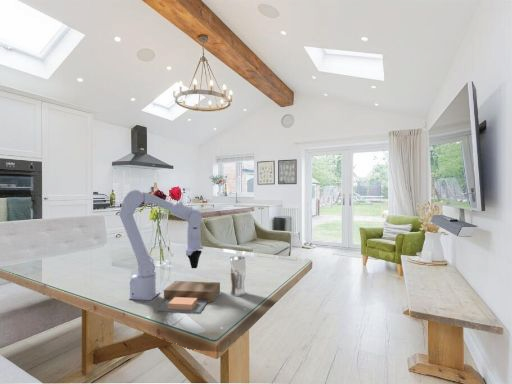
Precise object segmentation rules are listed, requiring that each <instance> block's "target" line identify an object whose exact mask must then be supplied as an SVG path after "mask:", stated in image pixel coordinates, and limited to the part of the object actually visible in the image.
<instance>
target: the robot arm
mask: <svg viewBox="0 0 512 384" xmlns="http://www.w3.org/2000/svg"><path fill="white" fill-rule="evenodd" d="M142 204H144V205H147V204H153V205H154V206H157V207H160V208H163V209H166V210H168V211H169V212H170V214H171V216H172V215H173V216H175V217H177V218H180V219H182V220H186V221H187V231H186V232H187V235H186V236H187V243H186V244H187V247H186V251H185V256H187V258H188V259H189V260H188V261H189V264H190V267H191V268H192V269H197V268H198V265H199V261H200V256H201V254H202V253H203V252H202V251H203V249H204V246H202V240H201V239H202V238H201V237H202V236H201V232H202V231H201V227H202V226H201V221H202V219H203V216H202V214H201V212H200V211H198V210H196V209H195V208H194V207H192V206H190V207H189V206H188V205H184V202H182V201H179V202H177V201H176V202H173V203H172V202H170V201H167V200H165V199H163V198H160V197H158V196H157V195H154V194H152V193H148V192H144V191H140V190H138V189H132V190H130V191H128V193H127V194H126V195H125V197H124V198H123V201H122V203H121V207H120V210H119V217H120V220H121V223H122V225H123V227H124V230H125V232H126V234H127V237H128V240H129V242H130V244H131V245H130V246H131V247H132V250H133V253H134V255H135V259H136V262H137V273H136V274H135V273H134V274H133V275H132V276H131V277H130V280H129V297H128V299H129V300H141V301H151V300H152V299H154V298H155V297H156V296H158V295H159V294H161V293H160V291H157V287H156V285H157V283H156V281H157V280H156V279H157V278H156V271H155V270H156V266H155V262H154V259H153V258H152V257H151V256H150V255H149V253H148V251H147V248H146V246H145V242H144V239H143V238H142V234H141V232H140V229H139V227H138V225H137V222H136V219H135V216H134V214H135V212H136V210H137V208H138V207H139V206H140V205H142Z"/></svg>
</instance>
